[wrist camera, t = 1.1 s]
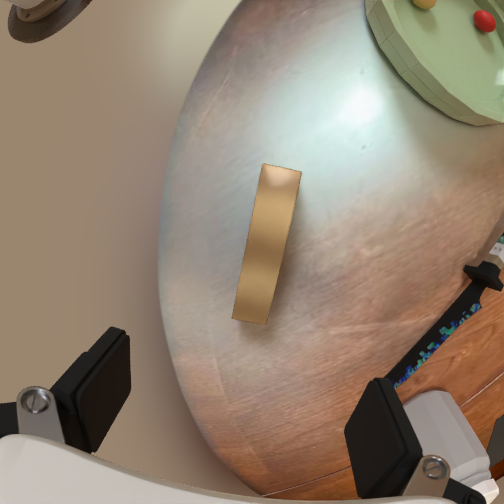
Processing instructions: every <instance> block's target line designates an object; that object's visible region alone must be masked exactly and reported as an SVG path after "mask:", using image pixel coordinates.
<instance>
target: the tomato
mask: <svg viewBox="0 0 504 504" xmlns="http://www.w3.org/2000/svg"><path fill="white" fill-rule="evenodd" d="M473 20H474V23H475V25H476V26H477V27H478V28H479V29H480V30H481V31H483V32H486V33H490V32H493V31H494V30H495V28H496V22H495V19H494V18H493V16H492V15H491V14H490V13H489V12H487V11H484V10H478V11H476V12H475V13H474V15H473Z"/></svg>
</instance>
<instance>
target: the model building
mask: <svg viewBox="0 0 504 504" xmlns="http://www.w3.org/2000/svg"><path fill="white" fill-rule="evenodd" d="M486 453H487V454H488V456H489V460H490V464H489V468H490V467H492V466H494V465H495V464H497V463H498V462H500V461H501V460H503V459H504V415H503V416H501V417H500V418H498V419H497V420H496V423H495V426H494V430H493V433H492V436H491V439H490V442H489V445H488V448H487V451H486Z"/></svg>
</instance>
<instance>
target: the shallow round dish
mask: <svg viewBox="0 0 504 504" xmlns="http://www.w3.org/2000/svg"><path fill="white" fill-rule="evenodd" d="M365 7H366V16H367V20H368V22H369V24H370V26H371V28H372V31H373V33H374V35H375V38H376V40H377V42H378V45H379V46H380V48H381V49H382V51H383V52H384V53H385V55H386V56H387V57H388V59H389V60H390V62H391V63H392V65H393V66H394V67H395V69H396V70H397V72H398V73H399V75H400V76H401V77H402V78H403V79H404V80H405V81H406V82H407V83H408V84H410V85H411V86H412V87H413V88H414V89H415V90H416V91H417V92H418V93H419V94H420V95H421V96H422V98H423V99H424V100H426V101H427V102H428V103H430V104H432V105H433V106H435V107H436V108H438V109H439V110H441V111H442V112H444V113H445V114H447V115H448V116H450V117H451V118H453V119H456V120H460V121H463V122H466V123H469V124H472V125H475V126H480V125H491V124H501V123H504V0H437V2H436V5H435V6H434V7H433V8H431V9H422V8H420V7H418V6H416V5H415V4H414V3H413V2H412V0H365ZM478 10H484V11H487V12H489V13H490V14H491V15H492V16H493V18H494V19H495V22H496V28H495V30H494V31H493V32H490V33H486V32H483V31H481V30H480V29H479V28H478V27H477V26H476V25H475V23H474V20H473V15H474V13H475V12H476V11H478Z"/></svg>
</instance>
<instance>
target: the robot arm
mask: <svg viewBox="0 0 504 504" xmlns="http://www.w3.org/2000/svg"><path fill="white" fill-rule="evenodd" d="M6 1H8V2H10V3H12V4H14V5H17V16H18V17H19V19H21V20H22V21H25V22H34V21H38V20H40V19H42V18H44V17H45V16H47V15H49V14H50V13H52V12H53V11H54V10H56V9H57V8H58V7H59V6H60V5H61V4H63V3H64V2H65V1H66V0H6ZM130 391H131V371H130V337H129V336H128V335H126V332H125V330H121V329H119V328H115V327H110V328H109V329H108V330H107V331H106V332H105V333H104V334H103V335H102V336H101V337H100V338H99V339H98V341H97V342H96V343H95V344H94V345H93V346H92V347H91V348H90V349H89V351H88V352H84V353H82V354H81V355H80V356H79V357H78V359H77V360H76V361H75V362H74V363H73V364H72V365H71V366H70V367H69V369H68V370H67V371H66V372H65V373H64V374H63V375H62V376H61V377H60V379H59V380H58V381H57V382H56V383H55V384H54V385H53V386H52V388H51V389H50V390H47V389H46V388H43V387H40V386H31V387H27V388H25V389H23V390H22V391H21V392H20V393H19V394H18V396H17V401H16V402H11V403H1V404H0V504H487V503H486V499H485V497H484V496H483V495H482V494H481V493H480V492H478V491H477V490H474V489H472V488H470V487H468V486H466V485H464V484H462V483H460V482H458V481H456V480H454V479H452V478H450V473H451V470H450V466H449V464H448V463H447V462H446V461H445V459H443V458H442V457H440V456H437V455H426V456H423V453H422V452H423V449H422V447H421V445H420V442H419V440H418V438H417V436H416V433H415V431H414V429H413V427H412V425H411V422H410V420H409V418H408V416H407V414H406V412H405V410H404V408H403V406H402V403H401V401H400V399H399V397H398V395H397V393H396V391H395V389H394V387H393V385H392V383H391V381H390V379H388V378H374V379H373V381H370V382H369V383H368V385H367V387H366V389H365V391H364V393H363V395H362V396H361V398H360V400H359V402H358V404H357V406H356V408H355V410H354V411H353V413H352V415H351V417H350V419H349V420H348V422H347V424H346V426H345V429H344V434H345V439H346V443H347V447H348V452H349V456H350V461H351V466H352V470H353V475H354V480H355V485H356V490H357V494H358V496H359V497H361V498H362V499H361V500H341V501H300V500H281V499H268V498H258V497H249V496H242V495H235V494H229V493H223V492H217V491H212V490H206V489H202V488H196V487H192V486H188V485H184V484H180V483H175V482H172V481H168V480H164V479H161V478H157V477H154V476H150V475H147V474H144V473H141V472H138V471H134V470H132V469H129V468H126V467H123V466H120V465H117V464H115V463H112V462H109V461H107V460H104V459H101V458H99V457H96V456H94V455H91V452H96V451H97V450H98V448H99V446H100V445H101V443H102V441H103V439H104V437H105V436H106V434H107V432H108V431H109V429H110V427H111V425H112V424H113V422H114V420H115V418H116V416H117V415H118V413H119V411H120V410H121V408H122V406H123V404H124V402H125V401H126V399H127V398H128V396H129V394H130Z"/></svg>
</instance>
